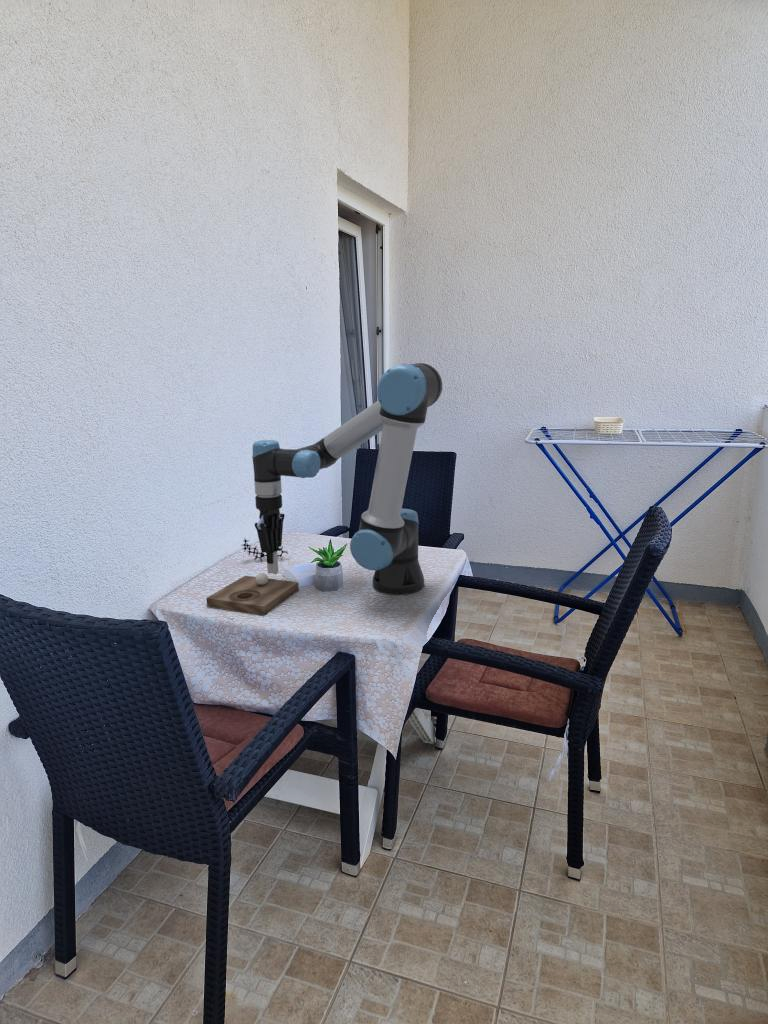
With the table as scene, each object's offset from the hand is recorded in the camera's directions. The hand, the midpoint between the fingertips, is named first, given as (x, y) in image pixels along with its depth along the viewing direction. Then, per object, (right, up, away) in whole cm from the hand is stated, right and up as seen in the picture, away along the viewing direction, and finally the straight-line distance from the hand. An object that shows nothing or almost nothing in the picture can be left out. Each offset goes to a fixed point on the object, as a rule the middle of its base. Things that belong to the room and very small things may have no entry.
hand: (273, 572), depth 192 cm
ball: (-2, -1, -6) cm, 6 cm away
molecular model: (-6, +2, +24) cm, 24 cm away
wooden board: (-4, -6, -9) cm, 11 cm away
